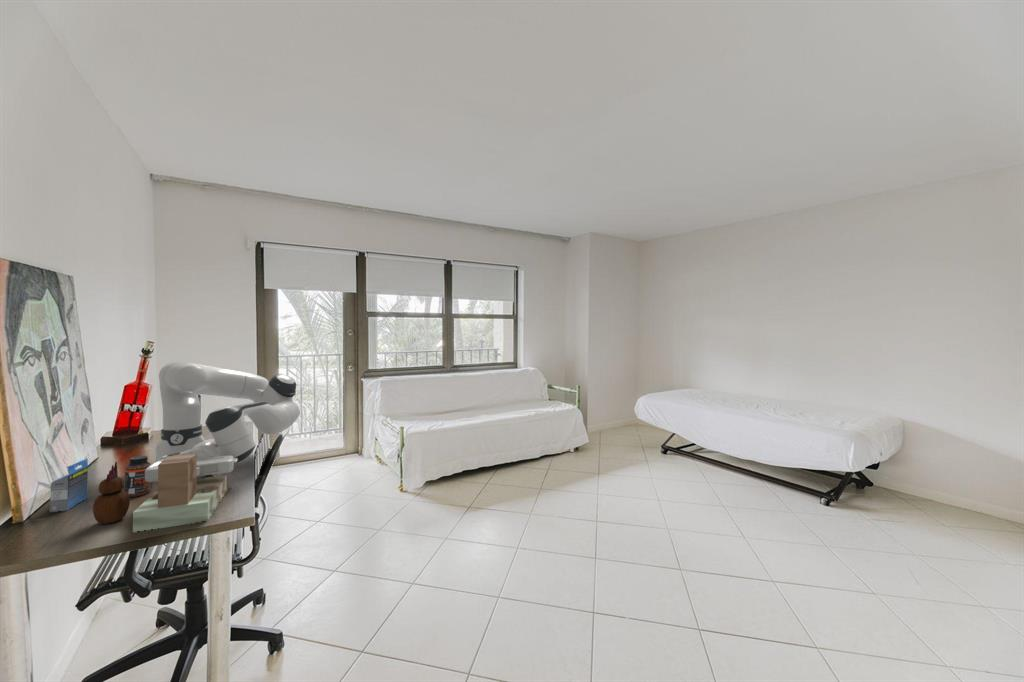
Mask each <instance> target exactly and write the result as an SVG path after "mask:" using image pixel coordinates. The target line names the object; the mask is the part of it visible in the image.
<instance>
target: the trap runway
mask: <svg viewBox="0 0 1024 682" xmlns="http://www.w3.org/2000/svg"><path fill="white" fill-rule="evenodd" d="M213 476H214V477H205V478H196V494H195V496H194V497H193V498H192V499H191V501H190V502H189V503H188V504H184V505H177V506H169V507H162V508H158V489H156V491H155V492H154V493H153V494H151V495H150V496H149V497H148V498H147V499H145V500H144V502H143V503H142V504H140V505H139V506H138V507H137V508H136V509H134V511H133V512H132V533H138V532H137V531H140V532H145V531H144V530H146V531H152V530H151V529H153V530H159V529H165V528H166V529H167V528H171V527H177V526H178V527H179V526H184V525H191V523H192V524H196V522H198V523H202V522H201V521H205V522H208V521H209V520H210V519H211V517H212V515H213V514H214V513H215V511H214V510H216V509H217V508H218V506H219V504H220V503H221V501H222V499H223V498H224V496H225V495H226V494H227V492H228V475H227V474H224V475H217V476H215V475H213ZM226 491H227V492H226ZM222 497H223V498H222ZM219 502H220V503H219ZM212 513H213V514H212ZM210 516H211V517H210ZM208 519H209V520H208ZM207 520H208V521H207ZM158 528H159V529H158Z"/></svg>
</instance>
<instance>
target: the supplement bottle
mask: <svg viewBox="0 0 1024 682" xmlns="http://www.w3.org/2000/svg"><path fill="white" fill-rule="evenodd" d="M148 460H149V459H148V456H147V455H138V456H137V455H136V456H132V457H130V458H129V464H127V465H126V466H125V469H124V491H126V492H127V493H128V495H129V498H135V497H142V496H145V495H147V494H149V493H151V491H152V482H146V481H145V470H146V468H148V467H149V466H150V465H151V464H152V463H151V462H148Z"/></svg>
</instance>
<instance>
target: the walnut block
mask: <svg viewBox="0 0 1024 682" xmlns="http://www.w3.org/2000/svg"><path fill="white" fill-rule="evenodd" d="M196 477H197V454H187V455H176V456H169V457H167V458H166V459H165V460H163V461H162V462H161V463H160V464H158V481H157V490H158V508H162V507H169V506H177V505H184V504H188V503H189V502H190V501H191V499H192V498H193V497H194V496H195V494H196Z"/></svg>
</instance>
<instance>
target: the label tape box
mask: <svg viewBox="0 0 1024 682" xmlns="http://www.w3.org/2000/svg"><path fill="white" fill-rule="evenodd" d="M78 466H79V468H78ZM80 466H81V467H80ZM66 468H67V474H66V475H64V476H62V477H59V478H57V479H55V480H54V481H51V482H50V496H49V499H50V500H49V513H58V511H61V512H66V511H70V510H71V509H72V508H74V507H75V506H77V505H78V503H79V504H80V503H82V502H84V501H85V500H86V499H87V494H88V491H87V490H88V473H89V460H88V457H87V458H84V459H82V460H80V461H77V462H75V463H72V464H70V465H67V466H66ZM83 500H84V501H83ZM70 508H71V509H70Z"/></svg>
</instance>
